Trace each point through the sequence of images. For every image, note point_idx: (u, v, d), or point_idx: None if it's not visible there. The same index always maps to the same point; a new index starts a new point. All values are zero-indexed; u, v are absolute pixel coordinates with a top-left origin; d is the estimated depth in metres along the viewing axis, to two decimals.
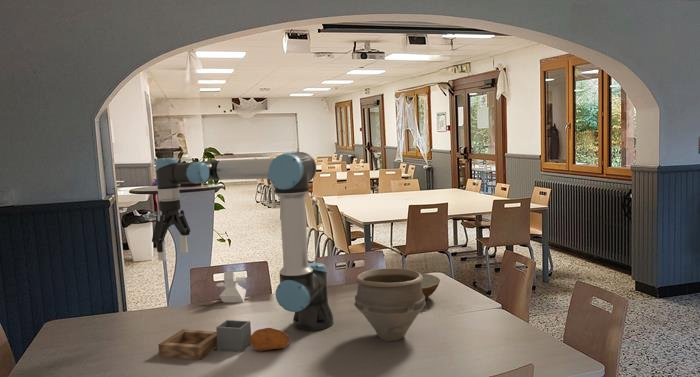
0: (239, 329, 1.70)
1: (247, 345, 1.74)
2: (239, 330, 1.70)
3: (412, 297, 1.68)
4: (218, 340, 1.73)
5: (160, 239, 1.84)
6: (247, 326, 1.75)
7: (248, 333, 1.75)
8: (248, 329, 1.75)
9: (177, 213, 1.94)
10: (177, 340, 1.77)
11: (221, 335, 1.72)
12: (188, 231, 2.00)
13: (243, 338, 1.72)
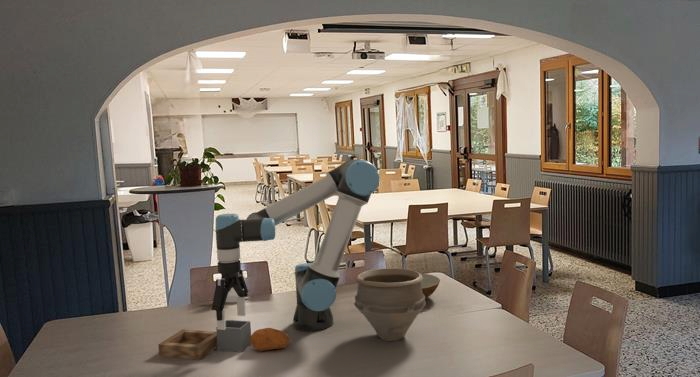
0: (239, 329, 1.70)
1: (247, 345, 1.74)
2: (239, 330, 1.70)
3: (412, 297, 1.68)
4: (218, 340, 1.73)
5: None
6: (247, 326, 1.75)
7: (248, 333, 1.75)
8: (248, 329, 1.75)
9: (236, 274, 1.75)
10: (177, 340, 1.77)
11: (221, 335, 1.72)
12: (246, 292, 1.82)
13: (243, 338, 1.72)
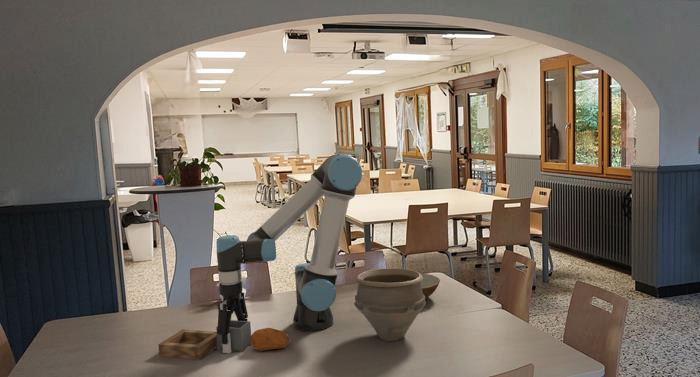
0: (239, 329, 1.70)
1: (247, 345, 1.74)
2: (239, 330, 1.70)
3: (412, 297, 1.68)
4: (218, 340, 1.73)
5: None
6: (247, 326, 1.75)
7: (248, 333, 1.75)
8: (248, 329, 1.75)
9: (238, 295, 1.76)
10: (177, 340, 1.77)
11: (221, 335, 1.72)
12: (246, 317, 1.81)
13: (243, 338, 1.72)
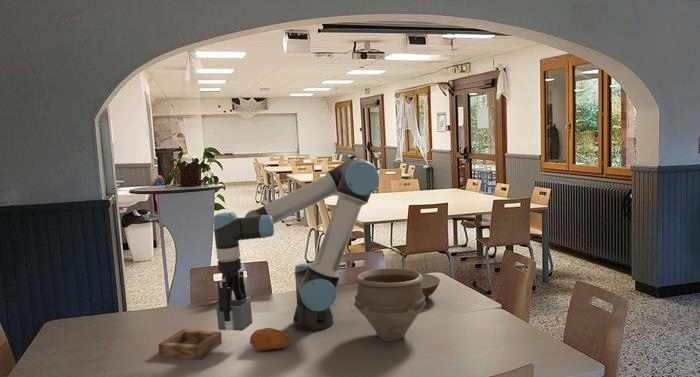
0: (239, 307, 1.70)
1: (248, 323, 1.74)
2: (239, 308, 1.70)
3: (412, 297, 1.68)
4: (218, 319, 1.72)
5: None
6: (247, 305, 1.74)
7: (248, 311, 1.74)
8: (248, 308, 1.75)
9: (237, 272, 1.75)
10: (177, 340, 1.77)
11: (221, 314, 1.72)
12: (244, 297, 1.79)
13: (243, 317, 1.71)
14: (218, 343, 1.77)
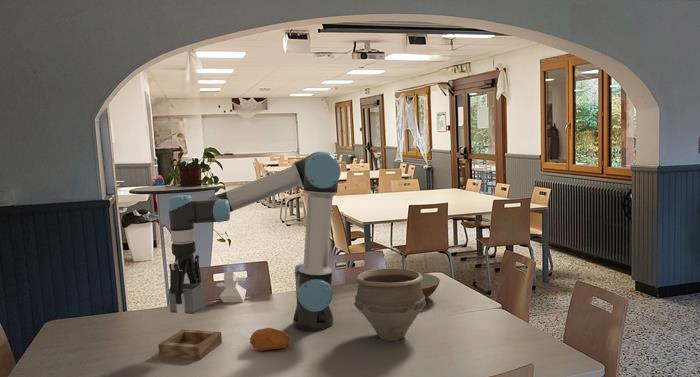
0: (191, 290, 1.68)
1: (200, 307, 1.73)
2: (191, 291, 1.68)
3: (412, 297, 1.68)
4: (170, 301, 1.71)
5: (179, 290, 1.68)
6: (200, 288, 1.73)
7: (201, 295, 1.73)
8: (201, 292, 1.74)
9: (192, 256, 1.74)
10: (177, 340, 1.77)
11: (173, 297, 1.71)
12: (199, 281, 1.78)
13: (195, 300, 1.70)
14: (218, 343, 1.77)
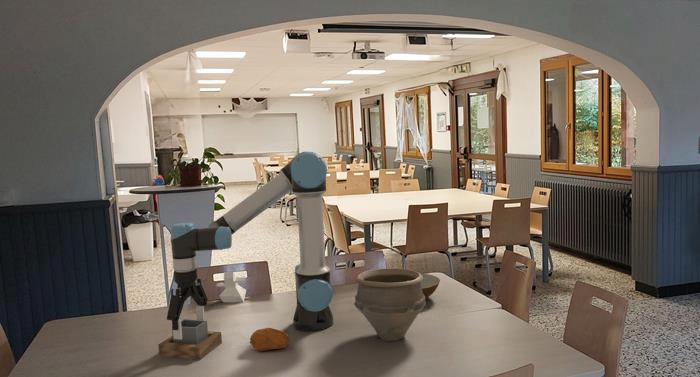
0: (194, 328, 1.70)
1: None
2: (194, 329, 1.70)
3: (412, 297, 1.68)
4: (173, 339, 1.72)
5: (176, 316, 1.66)
6: (203, 325, 1.74)
7: (204, 332, 1.75)
8: (204, 328, 1.75)
9: (194, 283, 1.75)
10: None
11: None
12: (205, 300, 1.82)
13: (198, 338, 1.71)
14: (218, 343, 1.77)
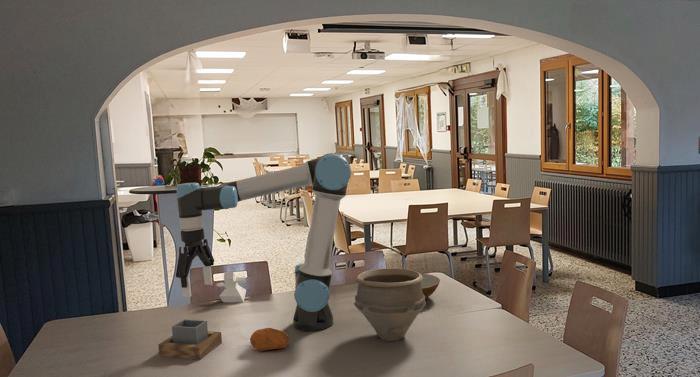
0: (194, 328, 1.70)
1: None
2: (194, 329, 1.70)
3: (412, 297, 1.68)
4: (173, 339, 1.72)
5: None
6: (203, 325, 1.74)
7: (204, 332, 1.75)
8: (204, 328, 1.75)
9: (201, 243, 1.77)
10: None
11: (177, 334, 1.72)
12: (212, 261, 1.83)
13: (198, 338, 1.71)
14: (218, 343, 1.77)
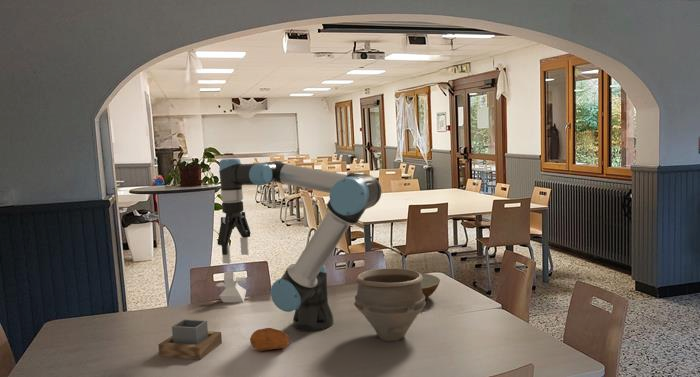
0: (194, 328, 1.70)
1: None
2: (194, 329, 1.70)
3: (412, 297, 1.68)
4: (173, 339, 1.72)
5: None
6: (203, 325, 1.74)
7: (204, 332, 1.75)
8: (204, 328, 1.75)
9: (239, 215, 1.90)
10: None
11: (177, 334, 1.72)
12: (248, 233, 1.97)
13: (198, 338, 1.71)
14: (218, 343, 1.77)
